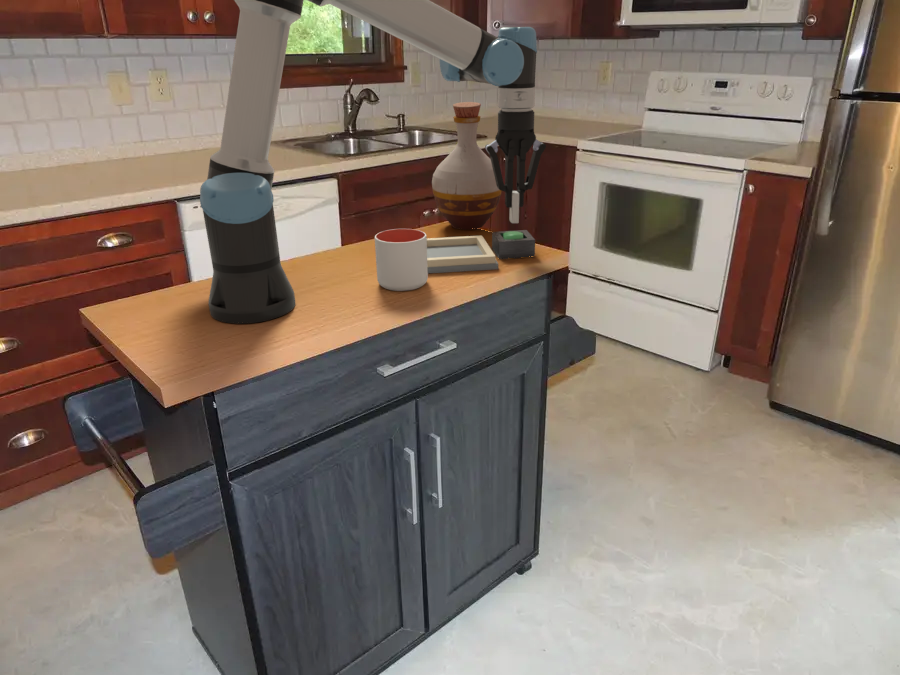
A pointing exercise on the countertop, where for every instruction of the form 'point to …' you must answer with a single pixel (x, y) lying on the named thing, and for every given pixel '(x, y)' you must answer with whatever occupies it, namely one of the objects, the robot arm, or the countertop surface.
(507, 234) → the button
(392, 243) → the cup
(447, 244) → the tray
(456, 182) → the jug
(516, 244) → the dark grey square box
